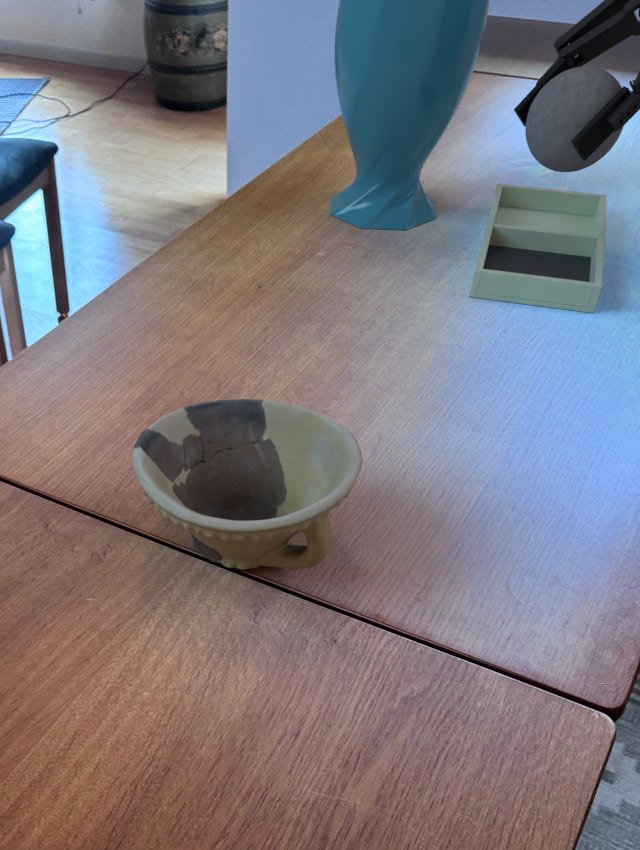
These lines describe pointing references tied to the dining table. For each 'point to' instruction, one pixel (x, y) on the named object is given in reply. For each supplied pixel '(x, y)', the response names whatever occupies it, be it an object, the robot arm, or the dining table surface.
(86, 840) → the dining table surface
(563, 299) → the organizer
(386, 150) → the vase
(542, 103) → the decorative ball
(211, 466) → the bowl
